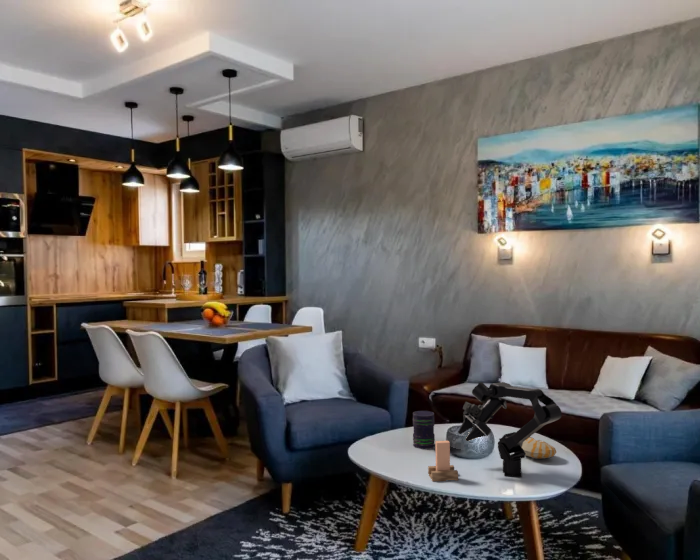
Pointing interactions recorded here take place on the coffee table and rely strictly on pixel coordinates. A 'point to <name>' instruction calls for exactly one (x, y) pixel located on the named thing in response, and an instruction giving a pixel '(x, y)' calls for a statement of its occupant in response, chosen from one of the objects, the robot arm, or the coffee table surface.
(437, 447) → the peach rectangular block
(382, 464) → the coffee table surface
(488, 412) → the robot arm
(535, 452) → the nautilus
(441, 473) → the rack
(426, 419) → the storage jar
